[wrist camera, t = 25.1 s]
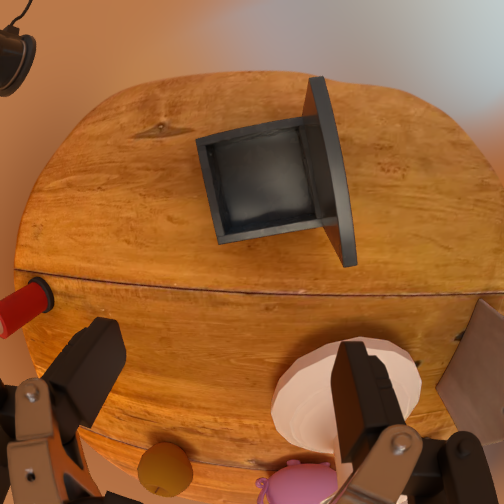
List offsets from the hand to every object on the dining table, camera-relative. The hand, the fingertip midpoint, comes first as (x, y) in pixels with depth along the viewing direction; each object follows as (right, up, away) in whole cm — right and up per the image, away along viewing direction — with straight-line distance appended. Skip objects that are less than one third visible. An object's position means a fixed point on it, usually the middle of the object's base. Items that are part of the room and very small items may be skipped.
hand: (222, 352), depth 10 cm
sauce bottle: (-33, -4, +27) cm, 43 cm away
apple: (-14, -33, +34) cm, 50 cm away
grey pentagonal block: (+35, -11, +23) cm, 44 cm away
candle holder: (+14, -15, +26) cm, 33 cm away
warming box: (+2, +11, +20) cm, 23 cm away
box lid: (+6, +9, +9) cm, 14 cm away
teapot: (+12, -39, +33) cm, 53 cm away
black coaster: (-33, -3, +28) cm, 43 cm away
